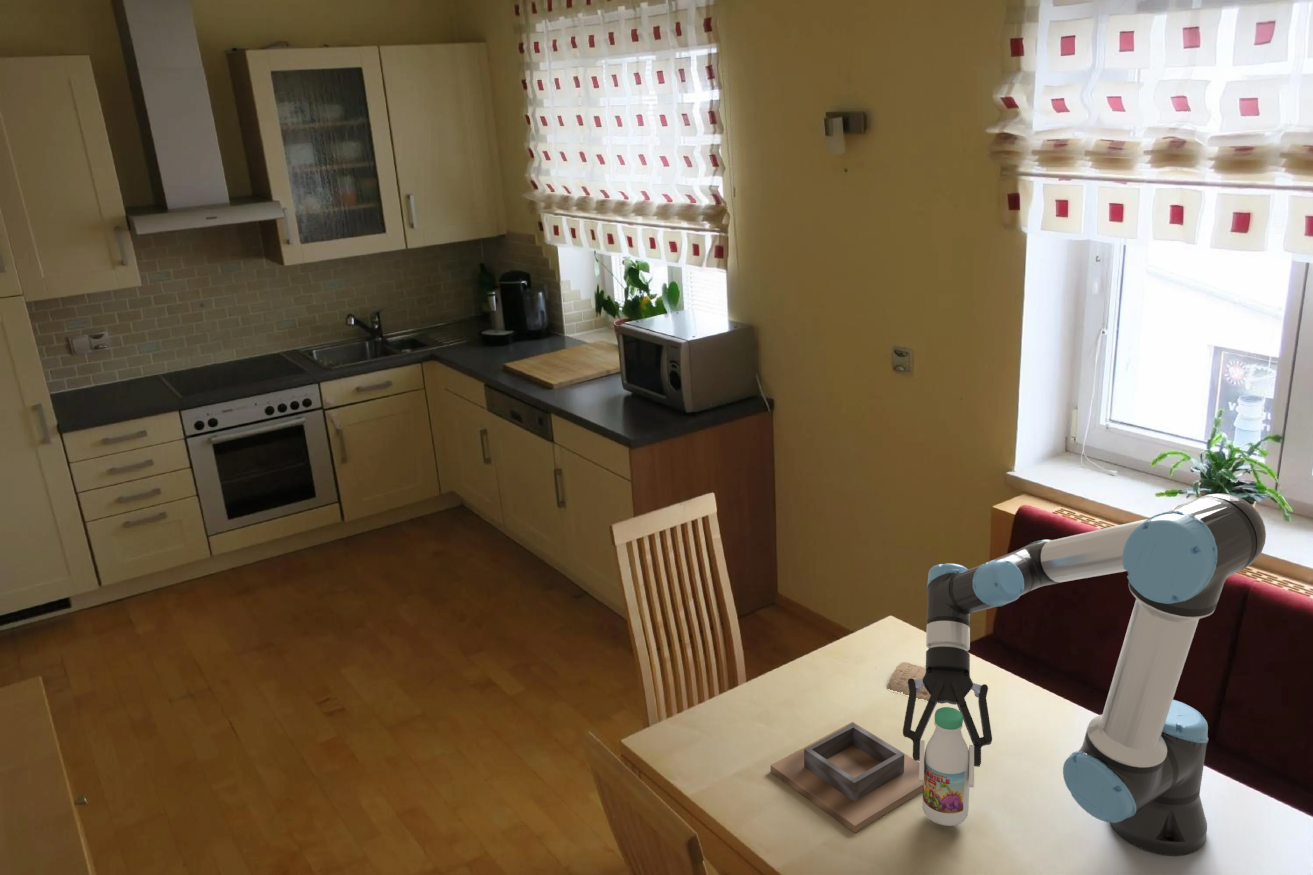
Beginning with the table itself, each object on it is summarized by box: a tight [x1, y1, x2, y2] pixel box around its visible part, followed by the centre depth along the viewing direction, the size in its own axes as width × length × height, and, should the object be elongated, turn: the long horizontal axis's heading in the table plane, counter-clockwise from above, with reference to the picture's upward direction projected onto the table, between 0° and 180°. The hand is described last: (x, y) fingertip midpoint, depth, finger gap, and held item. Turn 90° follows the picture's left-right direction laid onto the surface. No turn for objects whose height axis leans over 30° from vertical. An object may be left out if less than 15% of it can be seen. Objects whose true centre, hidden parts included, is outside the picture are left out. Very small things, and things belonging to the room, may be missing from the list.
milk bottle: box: [922, 706, 970, 827], centre depth 175 cm, size 8×8×20 cm
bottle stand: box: [770, 721, 923, 833], centre depth 191 cm, size 22×22×6 cm
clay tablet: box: [887, 661, 931, 701], centre depth 221 cm, size 14×10×3 cm
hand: (946, 783), depth 172 cm, fingers closed on milk bottle, 7 cm apart
